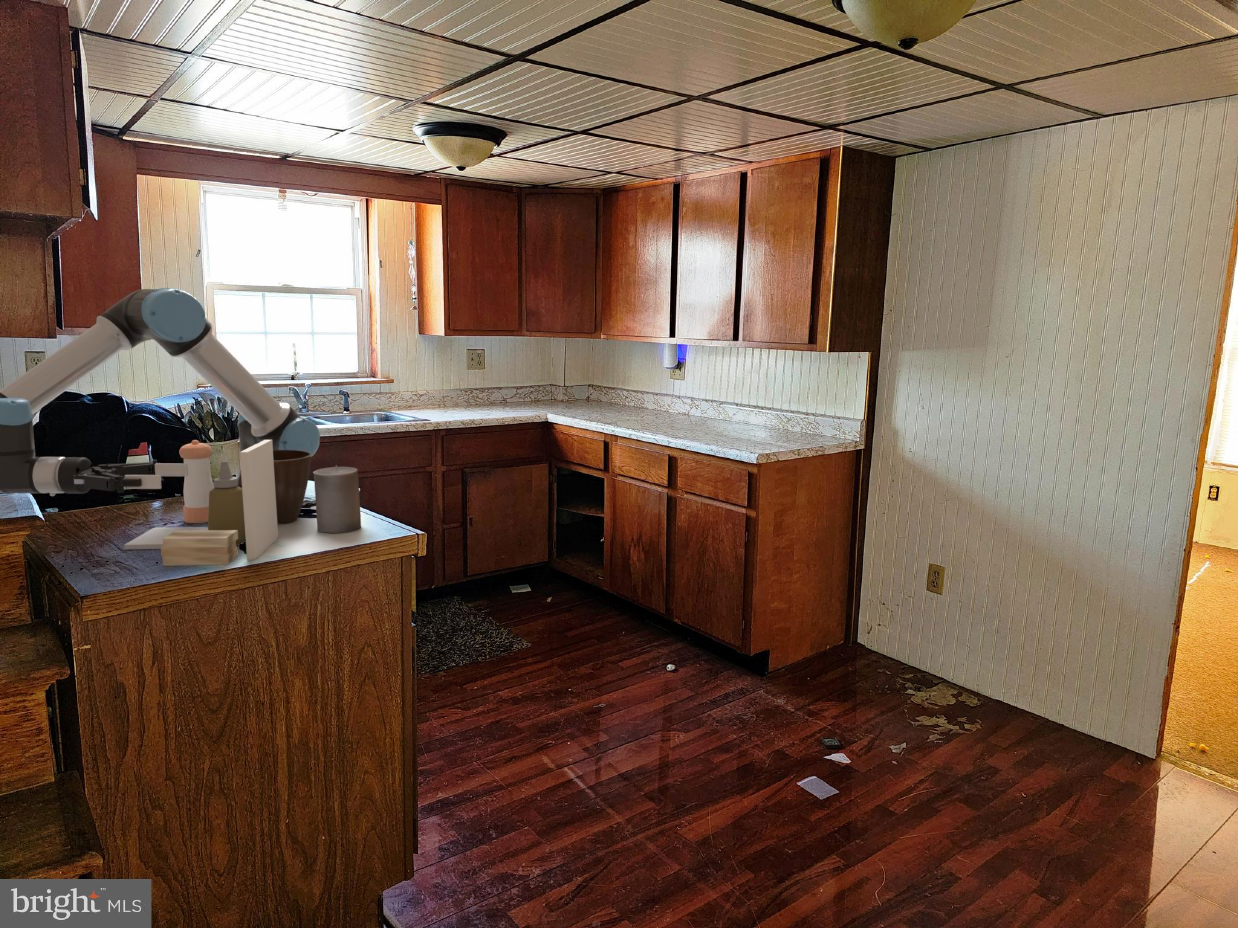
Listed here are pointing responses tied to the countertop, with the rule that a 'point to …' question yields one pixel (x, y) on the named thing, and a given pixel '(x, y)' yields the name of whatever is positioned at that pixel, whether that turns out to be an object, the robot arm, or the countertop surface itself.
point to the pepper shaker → (197, 481)
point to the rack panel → (259, 498)
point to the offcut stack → (199, 547)
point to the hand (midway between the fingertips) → (174, 475)
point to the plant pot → (290, 482)
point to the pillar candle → (337, 499)
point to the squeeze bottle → (227, 504)
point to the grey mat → (155, 537)
